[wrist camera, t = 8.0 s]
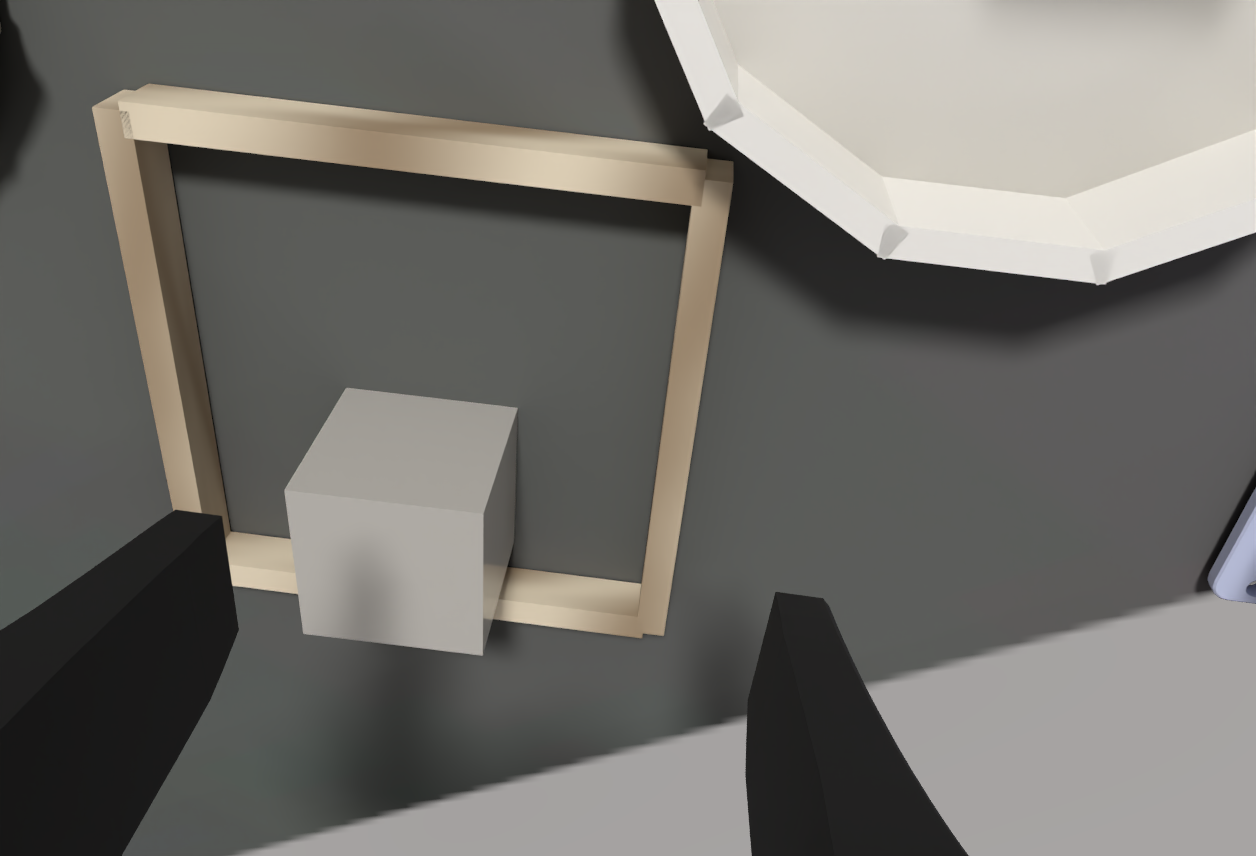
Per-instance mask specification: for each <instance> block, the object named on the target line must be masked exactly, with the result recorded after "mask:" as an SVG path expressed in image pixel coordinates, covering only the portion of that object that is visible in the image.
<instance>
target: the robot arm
mask: <svg viewBox="0 0 1256 856" xmlns="http://www.w3.org/2000/svg"><path fill="white" fill-rule="evenodd" d="M1254 581H1256V488H1255V490H1254V491H1253V493H1252V495H1251V497H1250V499H1249V501H1248V502H1247V504H1246V506H1245V508H1244V510H1243V512H1242V513H1241V515H1240V517H1239V519H1238V521H1237V523H1236V525H1235V526H1234V528H1233V530H1232V532H1231V534H1230V536H1229V537H1228V539H1227V541H1226V543H1225V545H1224V547H1223V548H1222V550H1221V552H1220V554H1219V556H1218V558H1217V559H1216V561H1215V563H1214V565H1213V567H1212V569H1211V570H1210V572H1209V575H1208V582H1209V585H1210V587H1211V589H1212V590H1213V592H1214V594H1215V595H1217V596H1218V597H1219V598H1222V599H1225V600H1231V601H1239V602H1246V603H1255V604H1256V584H1254V585H1249V584H1250V583H1251V582H1254ZM238 630H239V628H238V621H237V614H236V608H235V601H234V594H233V587H232V580H231V574H230V567H229V560H228V553H227V546H226V540H225V533H224V526H223V519H222V516H219V515H212V514H204V513H197V512H190V511H183V510H174V511H173V512H171V513H170V514H168V515H167V516H166V517H164V518H163V519H161V520H160V521H158V522H157V523H155V524H154V525H153V526H151V527H150V528H148V529H147V530H146V531H144V532H143V533H141V534H140V535H139V536H137V537H136V538H134V539H133V540H132V541H130V542H129V543H127V544H126V545H125V546H123V547H122V548H120V549H119V550H118V551H116V552H115V553H114V554H112V555H111V556H109V557H108V558H107V559H105V560H104V561H102V562H101V563H100V564H98V565H97V566H95V567H94V568H93V569H91V570H90V571H88V572H87V573H85V574H84V575H83V576H81V577H80V578H78V579H77V580H75V581H74V582H73V583H71V584H70V585H68V586H67V587H65V588H64V589H62V590H61V591H60V592H58V593H57V594H55V595H54V596H52V597H51V598H49V599H48V600H47V601H45V602H44V603H42V604H41V605H39V606H38V607H36V608H35V609H33V610H32V611H30V612H29V613H27V614H26V615H24V616H22V617H21V618H19V619H18V620H16V621H15V622H13V623H11V624H10V625H8V626H7V627H5V628H4V629H2V630H0V856H122V854H123V852H124V850H125V849H126V847H127V845H128V843H129V842H130V840H131V838H132V836H133V835H134V833H135V831H136V829H137V828H138V826H139V824H140V823H141V821H142V819H143V817H144V816H145V814H146V812H147V810H148V809H149V807H150V805H151V803H152V802H153V800H154V798H155V796H156V795H157V793H158V791H159V789H160V788H161V786H162V784H163V782H164V781H165V779H166V777H167V776H168V774H169V772H170V770H171V769H172V767H173V765H174V763H175V762H176V760H177V758H178V756H179V755H180V753H181V751H182V749H183V748H184V746H185V744H186V742H187V740H188V739H189V737H190V735H191V733H192V732H193V730H194V728H195V726H196V725H197V723H198V721H199V719H200V717H201V716H202V714H203V712H204V710H205V708H206V706H207V705H208V703H209V701H210V699H211V697H212V694H213V692H214V690H215V687H216V685H217V683H218V680H219V678H220V676H221V673H222V671H223V669H224V666H225V663H226V661H227V658H228V656H229V653H230V651H231V648H232V646H233V643H234V641H235V638H236V635H237V633H238ZM746 741H747V742H746V787H747V800H748V813H749V825H750V838H751V851H752V856H968V854H967V853H966V852H965V850H964V849H963V847H962V846H961V845H960V843H959V842H958V841H957V839H956V838H955V836H954V835H953V833H952V832H951V830H950V829H949V827H948V826H947V825H946V823H945V822H944V820H943V819H942V817H941V816H940V814H939V813H938V811H937V810H936V808H935V806H934V805H933V803H932V802H931V800H930V799H929V797H928V796H927V794H926V792H925V791H924V789H923V788H922V786H921V784H920V783H919V781H918V779H917V778H916V776H915V775H914V773H913V771H912V770H911V768H910V767H909V765H908V763H907V761H906V760H905V758H904V756H903V755H902V753H901V751H900V750H899V748H898V746H897V744H896V743H895V741H894V739H893V737H892V735H891V733H890V732H889V730H888V728H887V726H886V724H885V722H884V721H883V719H882V717H881V715H880V713H879V711H878V710H877V708H876V706H875V704H874V702H873V700H872V699H871V696H870V695H869V692H868V690H867V689H866V687H865V685H864V683H863V681H862V678H861V676H860V674H859V672H858V670H857V668H856V666H855V664H854V662H853V660H852V658H851V656H850V653H849V651H848V649H847V647H846V645H845V643H844V640H843V638H842V636H841V634H840V631H839V629H838V627H837V624H836V622H835V620H834V617H833V615H832V612H831V610H830V607H829V606H828V604H827V603H826V602H825V600H824V599H823V598H816V597H809V596H802V595H794V594H787V593H780V592H776V593H775V596H774V600H773V604H772V608H771V612H770V616H769V620H768V624H767V628H766V632H765V636H764V639H763V643H762V647H761V651H760V655H759V659H758V663H757V667H756V671H755V675H754V678H753V682H752V686H751V690H750V694H749V698H748V712H747V739H746Z"/></svg>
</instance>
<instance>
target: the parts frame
mask: <svg viewBox="0 0 1256 856" xmlns="http://www.w3.org/2000/svg"><path fill="white" fill-rule="evenodd" d="M92 110H93V115H94V120H95V125H96V130H97V135H98V140H99V145H100V150H101V155H102V160H103V165H104V170H105V174H106V179H107V184H108V189H109V194H110V199H111V204H112V209H113V214H114V219H115V224H116V229H117V234H118V239H119V244H120V249H121V254H122V259H123V264H124V269H125V274H126V279H127V284H128V289H129V293H130V298H131V303H132V308H133V313H134V318H135V323H136V328H137V333H138V338H139V343H140V348H141V353H142V358H143V363H144V368H145V373H146V378H147V383H148V388H149V393H150V398H151V403H152V408H153V413H154V417H155V422H156V427H157V432H158V437H159V442H160V447H161V452H162V457H163V462H164V467H165V472H166V477H167V482H168V487H169V492H170V497H171V502H172V507H173V511H174V510H183V511H190V512H197V513H204V514H212V515H219V516H222V519H223V526H224V533H225V540H226V546H227V553H228V560H229V567H230V574H231V580H232V586H240V587H247V588H255V589H263V590H271V591H279V592H286V593H294V594H298V589H297V581H296V574H295V566H294V558H293V551H292V543H291V539H285V538H277V537H269V536H261V535H254V534H246V533H238V532H231V531H230V525H229V518H228V512H227V506H226V500H225V494H224V488H223V482H222V476H221V470H220V464H219V458H218V451H217V445H216V439H215V433H214V427H213V421H212V415H211V409H210V403H209V397H208V390H207V384H206V378H205V372H204V366H203V360H202V354H201V348H200V342H199V336H198V329H197V323H196V317H195V311H194V305H193V299H192V293H191V287H190V281H189V275H188V269H187V262H186V256H185V250H184V244H183V238H182V232H181V226H180V220H179V214H178V208H177V201H176V195H175V189H174V183H173V177H172V171H171V165H170V159H169V153H168V147H167V143H170V144H178V145H187V146H195V147H204V148H212V149H220V150H229V151H237V152H245V153H254V154H262V155H271V156H279V157H287V158H296V159H304V160H313V161H321V162H329V163H338V164H346V165H355V166H363V167H371V168H380V169H388V170H397V171H405V172H413V173H422V174H430V175H439V176H447V177H455V178H464V179H472V180H481V181H489V182H497V183H506V184H514V185H523V186H531V187H539V188H548V189H556V190H564V191H573V192H581V193H590V194H598V195H606V196H615V197H623V198H632V199H640V200H648V201H657V202H665V203H674V204H682V205H690V206H691V210H690V218H689V225H688V233H687V241H686V248H685V256H684V264H683V271H682V279H681V286H680V294H679V302H678V309H677V317H676V324H675V332H674V340H673V347H672V355H671V362H670V370H669V378H668V385H667V393H666V400H665V408H664V416H663V423H662V431H661V438H660V446H659V454H658V461H657V469H656V476H655V484H654V492H653V499H652V507H651V514H650V522H649V530H648V537H647V545H646V552H645V560H644V568H643V575H642V583H641V584H638V583H630V582H622V581H615V580H607V579H599V578H591V577H583V576H575V575H567V574H560V573H552V572H544V571H536V570H528V569H520V568H513V567H507V569H506V573H505V577H504V580H503V584H502V587H501V591H500V595H499V598H498V602H497V606H496V609H495V613H494V617H493V619H496V620H504V621H512V622H520V623H527V624H535V625H543V626H551V627H558V628H566V629H574V630H582V631H590V632H597V633H605V634H613V635H621V636H628V637H636V638H642V634H643V633H645V634H653V635H660V636H664V630H665V624H666V617H667V611H668V604H669V598H670V591H671V585H672V578H673V572H674V565H675V559H676V552H677V546H678V539H679V533H680V526H681V520H682V513H683V507H684V500H685V494H686V487H687V481H688V474H689V468H690V461H691V455H692V448H693V442H694V435H695V429H696V422H697V416H698V409H699V403H700V396H701V390H702V383H703V377H704V370H705V364H706V357H707V351H708V344H709V338H710V331H711V325H712V318H713V312H714V305H715V299H716V292H717V286H718V279H719V273H720V266H721V260H722V253H723V247H724V240H725V234H726V227H727V221H728V214H729V208H730V201H731V195H732V188H733V161H725V160H716V159H708V158H707V152H708V150H707V149H699V148H690V147H682V146H673V145H665V144H657V143H648V142H640V141H631V140H623V139H614V138H606V137H597V136H589V135H580V134H572V133H563V132H555V131H546V130H538V129H529V128H521V127H512V126H504V125H495V124H487V123H478V122H470V121H461V120H453V119H444V118H436V117H427V116H419V115H410V114H402V113H393V112H385V111H377V110H368V109H360V108H351V107H343V106H334V105H326V104H317V103H309V102H300V101H292V100H283V99H275V98H266V97H258V96H249V95H241V94H232V93H224V92H215V91H207V90H198V89H190V88H181V87H173V86H164V85H156V84H147V85H145V86H143V87H142V88H140V89H138V90H136V91H132V90H122V91H120V92H119V93H117V94H115V95H113V96H111V97H109V98H108V99H106V100H104V101H102V102H100V103H99V104H97V105H95V106H93V107H92Z"/></svg>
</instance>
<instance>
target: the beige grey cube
mask: <svg viewBox="0 0 1256 856" xmlns="http://www.w3.org/2000/svg"><path fill="white" fill-rule="evenodd" d="M517 419H518V408H514V407H506V406H497V405H489V404H480V403H472V402H463V401H455V400H446V399H438V398H429V397H420V396H412V395H403V394H395V393H386V392H378V391H369V390H361V389H352V388H346V389H345V391H344V392H343V394H342V396H341V397H340V399H339V401H338V402H337V404H336V406H335V407H334V409H333V411H332V412H331V414H330V416H329V417H328V419H327V420H326V422H325V424H324V425H323V427H322V429H321V430H320V432H319V434H318V435H317V437H316V439H315V440H314V442H313V444H312V445H311V447H310V449H309V450H308V452H307V454H306V455H305V457H304V459H303V460H302V462H301V464H300V465H299V467H298V469H297V470H296V472H295V473H294V475H293V477H292V478H291V480H290V482H289V483H288V485H287V487H286V488H285V490H284V491H285V498H286V506H287V513H288V521H289V528H290V536H291V543H292V551H293V558H294V566H295V574H296V581H297V589H298V596H299V604H300V611H301V619H302V626H303V634H310V635H318V636H326V637H334V638H343V639H351V640H359V641H367V642H375V643H384V644H392V645H400V646H408V647H416V648H425V649H433V650H441V651H449V652H457V653H466V654H474V655H482V656H483V653H484V649H485V646H486V642H487V638H488V635H489V631H490V628H491V624H492V620H493V617H494V613H495V609H496V606H497V602H498V598H499V595H500V591H501V587H502V584H503V580H504V577H505V573H506V569H507V566H508V562H509V558H510V555H511V551H512V547H513V544H514V530H515V493H516V456H517Z"/></svg>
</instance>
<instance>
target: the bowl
mask: <svg viewBox="0 0 1256 856" xmlns="http://www.w3.org/2000/svg"><path fill="white" fill-rule="evenodd" d="M655 3H656V5H657V8H658V10H659V12H660V15H661V17H662V20H663V22H664V24H665V27H666V29H667V32H668V34H669V36H670V39H671V41H672V44H673V46H674V48H675V51H676V53H677V56H678V58H679V60H680V63H681V65H682V68H683V70H684V72H685V75H686V77H687V80H688V82H689V84H690V87H691V89H692V92H693V94H694V96H695V99H696V101H697V104H698V106H699V108H700V111H701V113H702V116H703V118H704V125H705V126H707V128H708V130H709V131H710V130H712V131H713V132H715V133H716V134H717V135H719V136H720V137H721V138H723V139H724V140H725V141H727V142H728V143H729V144H731V145H732V146H733V147H735V148H736V149H737V150H739V151H740V152H741V153H743V154H744V155H745V156H747V157H748V158H749V159H751V160H752V161H753V162H755V163H756V164H757V165H759V166H760V167H761V168H763V169H764V170H765V171H767V172H768V173H769V174H771V175H772V176H773V177H775V178H776V179H777V180H779V181H780V182H781V183H783V184H784V185H785V186H787V187H788V188H789V189H791V190H792V191H793V192H795V193H796V194H797V195H799V196H800V197H801V198H803V199H804V200H805V201H807V202H808V203H809V204H811V205H812V206H813V207H815V208H816V209H817V210H819V211H820V212H821V213H823V214H824V215H825V216H827V217H828V218H829V219H831V220H832V221H833V222H835V223H836V224H837V225H839V226H840V227H841V228H843V229H844V230H845V231H847V232H848V233H849V234H851V235H852V236H853V237H855V238H856V239H857V240H859V241H860V242H861V243H863V244H864V245H865V246H867V247H868V248H869V249H871V250H872V251H873V252H875V253H876V255H877V257H880V258H883V259H884V260H885V259H886V258H888V259H897V260H905V261H914V262H922V263H930V264H939V265H947V266H955V267H964V268H972V269H980V270H989V271H997V272H1005V273H1014V274H1022V275H1030V276H1039V277H1047V278H1056V279H1064V280H1072V281H1081V282H1089V283H1095V284H1096V285H1100V284H1106V282H1109V281H1112V280H1115V279H1118V278H1121V277H1124V276H1127V275H1130V274H1133V273H1136V272H1139V271H1142V270H1145V269H1148V268H1151V267H1154V266H1157V265H1160V264H1163V263H1166V262H1169V261H1172V260H1175V259H1178V258H1181V257H1183V256H1186V255H1189V254H1192V253H1195V252H1198V251H1201V250H1204V249H1207V248H1210V247H1213V246H1216V245H1219V244H1222V243H1225V242H1228V241H1231V240H1234V239H1237V238H1240V237H1243V236H1246V235H1249V234H1252V233H1255V232H1256V0H655Z"/></svg>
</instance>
